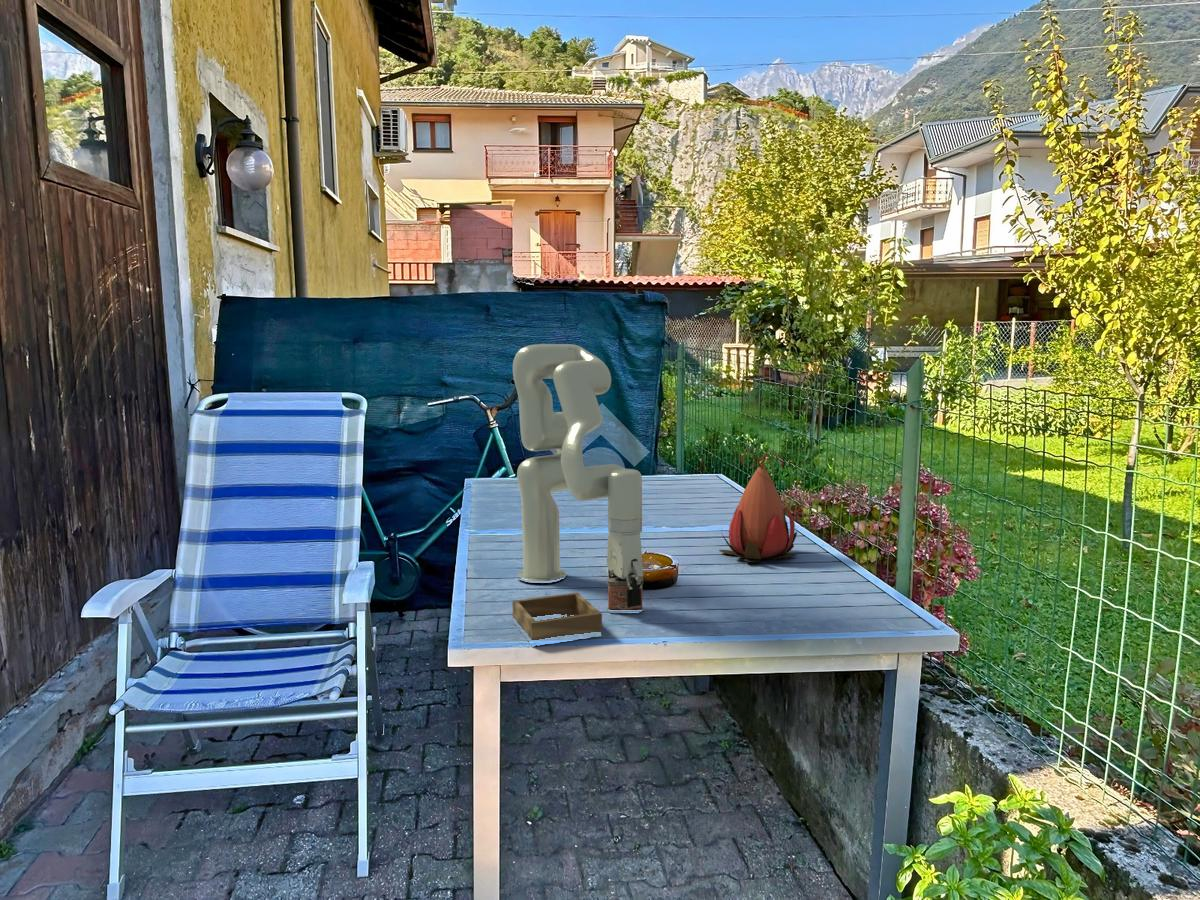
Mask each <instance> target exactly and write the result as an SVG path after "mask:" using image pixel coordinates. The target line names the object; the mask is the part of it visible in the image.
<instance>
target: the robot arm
mask: <svg viewBox="0 0 1200 900" xmlns="http://www.w3.org/2000/svg"><path fill="white" fill-rule="evenodd" d="M513 358H514V359H513V361H512V376H513V381H514V385H515V388H516V393H517V398H518V410H519V411H518V412H519V426H520V427H519V428H520V438H521V439H520V440H521V443H522V445H523V447H524V448H525V449H526V450H528V451H531V452H541V451H542V452H544V451H545V452H546V451H551V450H552V451H553V450H556V454H550V455H548V454H547V455H541V456H540V455H539V456H533V457H529V458H526V459H525V460H523V461H522V462H520V464H519V465H518V468H517V470H516V471H517V472H516V477H517V484H518V489H519V493H520V501H521V520H522V521H521V524H522V525H521V529H522V569H521V570H520V571H519V572H523V573H518V572H517V574H518V576H519V577H521V578H522V579H525V580H529V581H551V580H557V579H560V578H563V577H564V576H566V577H567V571H566V570H564V569H562V568H561V543H560V541H561V539H560V538H561V536H560V534H561V533H560V531H561V529H560V509H559V505H557V502H556V501H555V500H554V498H553V496H552V494H553V493H556V492H562V491H569V493H570V494H571V495H572V497H573V498H574V499H576V500H578V501H580V502H581V501H583V502H585V501H592V500H593V501H594V500H599V499H605V498H606V499H607V500H608V502H607V503H608V504H607V506H608V507H607V508H608V509H607V513H608V514H607V515H608V516H607V525H608V526H607V528H608V536H607V547H606V548H607V552H606V554H607V555H606V567H607V569H608V571H610V573H609V574H610V578H616V576H618V577H619V578H621V579H624V578H625V577H626V581H627V585H628V588H629V589H627V606H628V607H633V606H640V605H641V588H642V589H643V584H642V579H643V580H644V572H643V553H642V550H643V549H642V541H641V533H642V532H643V477H642V476H643V475H642V474H641V472H640V471H639V470H637V469H635V468H625V467H624V466H621V465H619V464H615V463H609V464H608V463H607V464H600V465H599V464H598V465H591V466H590V465H589V466H584V461H583V460H584V459H583V439H584V437H585V436H586V435H588V434H590V433H592V432H593V431H595V430H596V429H598V428H599V427H600V426H601V425H602V423H603V420H604V419H603V418H604V417H603V414H602V412H601V409H600V408H601V407H600V406H599V402H598V399H597V396H598V395H603V394H605V393H607V392H608V391H609V389H610V388H611V386H612V385H611V384H612V375H611V372H610V369H609V368H608V366H607V365H606V363H605V362H604V361H602V359H600V358H599V357H597V356H596V355H594V354H593V353H591V352H590V351H588V350H587V349H585V348H583V347H582V346H579V345H577V344H573V343H572V344H571V343H562V344H561V343H560V344H559V343H558V344H556V343H539V344H531V345H525V346H524V347H522V348H519V350H518V351H517V352H516V353H515V356H514V357H513ZM544 379H545V380H547V379H553V380H552V381H553V384H554V385H553V386H554V388H555V391H556V394H557V397H558V401H559V403H560V408H561V410H562V411H556V412H554V406H553V405H554V404H553V403H554V402H553V396H552V392H551V390H550V389H549V387H548V386H547V384H546V383H545V382H544ZM611 569H612V570H613V573H614V574H615V575H616V576H611ZM634 573H635V574H634ZM629 574H634V575H629ZM526 578H528V579H526ZM631 579H634V580H633V582H632V583H631Z"/></svg>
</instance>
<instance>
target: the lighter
mask: <svg viewBox="0 0 1200 900" xmlns="http://www.w3.org/2000/svg"><path fill="white" fill-rule="evenodd" d="M610 572H611V576H616V575H615V574H614V573H613V570H612V569H611V571H610ZM634 574H635V573H634ZM634 574H629V575H634ZM611 576H610V578H607V581H606V584H607V589H608V590H607V596H608V599H607V601H608V605H607V606H608V607H607V610H608V609H609V610H642V609H643V610H644V606H643V587H642V588H641V605H640V606H633V607H628V606H627V589H629V588H628V585H627V581H626V577H625V578H624V579H621V578H619V577H618V576H616V578H611ZM633 580H634V579H631V583H632V582H633ZM643 584H644V578H643V579H642V585H643Z"/></svg>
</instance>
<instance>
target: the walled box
mask: <svg viewBox="0 0 1200 900" xmlns="http://www.w3.org/2000/svg"><path fill="white" fill-rule="evenodd" d="M553 614H561V615H565V614H567V617H564V616H563V617H561V618H554V619H547V620H540V621H535V620H534V619H533V618H532V617H537V616H545V615H553ZM570 615H574V616H570ZM513 618H514V619H515V620H516V621H517V623H518V624H519V625H520V626H521V627H522V629H523V630H524V631H525V632H526V633H527V634H528V636H529V637H530V638H531V640H539V639H545V638H551V637H557V636H565V635H574V634H584V633H591V632H601V631H602V632H603V613H602V612H601V611H599V610H598V609H597V608H596V606H594V605H592V603H591V602H589V601H588V599H586V598H585V597H583V595H581V594H580V593H579V592H571V593H564V594H563V593H561V594H554V595H547V596H539V597H532V598H525V599H516V600H512V619H513Z"/></svg>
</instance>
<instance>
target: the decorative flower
mask: <svg viewBox="0 0 1200 900" xmlns="http://www.w3.org/2000/svg"><path fill="white" fill-rule="evenodd" d="M748 452H750V453H751V452H752V453H755V454H756V456H755V458H754V462H753V467H754V468H755V467H757V466H756V459H757V458H758V461H759V466H758V467H757V469H756V470H755V471H754V473H753V474H752V476H751V478H750V480H749V481H748V483H747V485H746V486H745V489H744V490H743V493H742V495H741V497H740V499H739V502H738V505H737V506H736V508H735V511H734V512H733V516H732V518H731V520H730V524H729V529H728V540H727V539H726V537H725V536H724V535H723V534H722V532H721V536H722V538H723V540H724V541H725V542H726V544H727V546H728V547H729V550H728V549H718V551H719V552H721V553H723V554H726V555H727V554H728V555H734V556H736V557H739V558H743V561H745V562H749V563H757V562H758V563H759V562H762V559H771V560H776V559H787V558H792V557H793V558H794V557H796V556H798V554H797V553H793V552H792V553H789V552H790V551H791V550H793V548H794V546H795V545H794V542H795V540H797V539H796V538H797V533H798V532H797V531H796V532H795V529H796V527H795V519H794V515H793V514H792V511H791V510H790V509H789V508H788V506H787V505H785V510H786V513H785V510H784V506H783V503H782V499H781V498H780V495H779V492H778V490H777V487H776V486H775V483H774V481H773V480H772V477H771V475H770V474H769V472H768V471H767V468H766V467H765V462H766V459H767V457H768V456H770V454H774V455H775V462H779V458H778V455H779V456H780V458H781V459H780V460H781V466H782V467H783V466H784V461H783V456H782V455H781V454H780V452H777V451H774V450H773V449H770V450H768V451H766V452H765V453H764V455H762V456H761V458H760V456H759V455H758V453H757V452H755V451H754V450H747V451H746V452H744V454H743V455H742V457H741V458H740V463H741V464H743V462H744V460H743V459H744V457H745V455H746V454H747V453H748ZM768 452H769V453H768ZM767 453H768V454H767ZM777 454H778V455H777ZM765 456H766V457H765ZM786 514H787V516H788V517H786ZM786 518H788V520H789V524H788V522H787V519H786ZM788 525H789V526H788Z"/></svg>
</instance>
